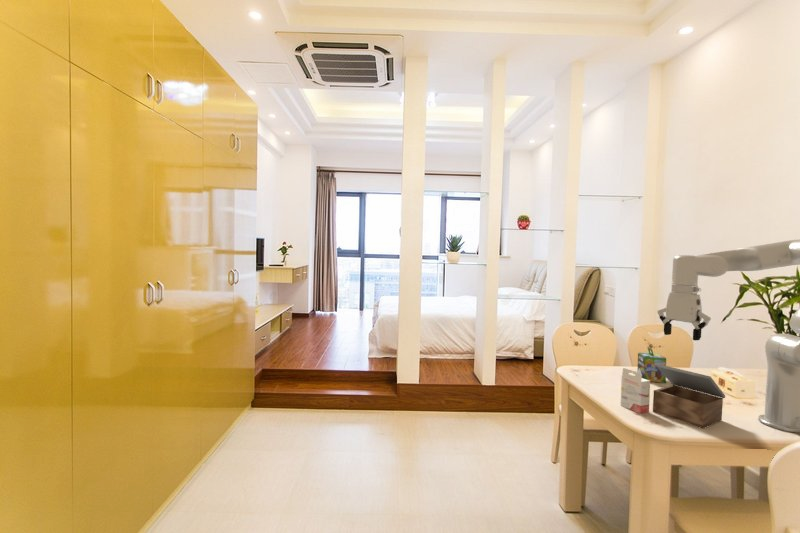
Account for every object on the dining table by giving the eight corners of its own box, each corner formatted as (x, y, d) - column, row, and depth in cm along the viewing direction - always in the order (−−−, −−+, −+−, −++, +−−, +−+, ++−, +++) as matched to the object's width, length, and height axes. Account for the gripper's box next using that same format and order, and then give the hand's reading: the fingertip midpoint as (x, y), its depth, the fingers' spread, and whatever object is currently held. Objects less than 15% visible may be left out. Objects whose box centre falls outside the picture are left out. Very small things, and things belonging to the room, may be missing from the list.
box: (721, 420, 143) (722, 398, 143) (702, 428, 136) (703, 405, 135) (672, 405, 157) (673, 384, 156) (652, 411, 149) (653, 390, 149)
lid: (724, 398, 142) (725, 395, 142) (709, 379, 136) (710, 376, 136) (671, 384, 157) (672, 381, 157) (655, 366, 150) (656, 363, 150)
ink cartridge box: (649, 412, 149) (651, 372, 149) (640, 413, 147) (642, 373, 147) (628, 403, 157) (630, 366, 157) (619, 405, 155) (621, 367, 155)
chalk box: (666, 383, 184) (667, 351, 183) (643, 381, 186) (645, 349, 185) (657, 377, 193) (659, 346, 192) (636, 375, 195) (637, 345, 194)
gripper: (717, 292, 139) (714, 341, 139) (665, 287, 154) (663, 332, 155) (705, 292, 136) (702, 343, 136) (653, 287, 151) (651, 333, 152)
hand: (681, 337), depth 146 cm, fingers open, 9 cm apart
